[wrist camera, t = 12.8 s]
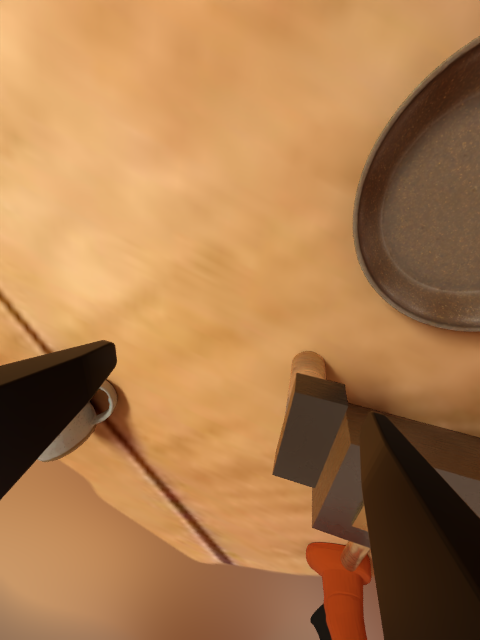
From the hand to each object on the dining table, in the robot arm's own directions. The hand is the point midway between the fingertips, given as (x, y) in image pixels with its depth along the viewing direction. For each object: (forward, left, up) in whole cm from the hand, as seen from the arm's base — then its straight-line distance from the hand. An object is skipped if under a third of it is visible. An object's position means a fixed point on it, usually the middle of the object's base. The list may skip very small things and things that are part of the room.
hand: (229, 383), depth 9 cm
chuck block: (-14, +20, -13) cm, 28 cm away
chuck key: (-4, +7, -13) cm, 15 cm away
